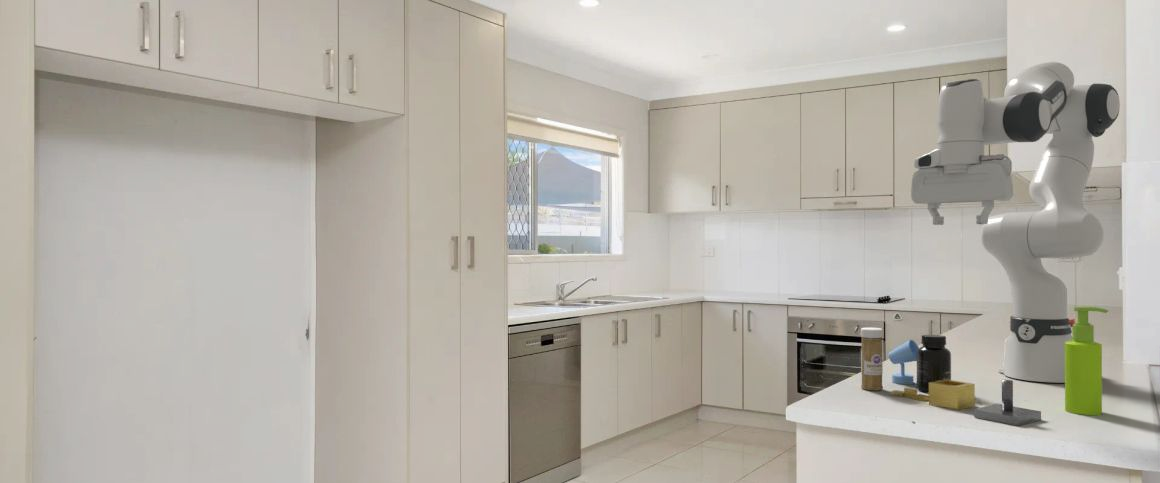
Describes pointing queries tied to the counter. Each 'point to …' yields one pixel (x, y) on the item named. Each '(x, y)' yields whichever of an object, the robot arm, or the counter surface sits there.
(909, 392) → the tan barbell toy
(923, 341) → the supplement bottle
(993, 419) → the grey peg stand
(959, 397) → the end link
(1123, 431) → the counter surface
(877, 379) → the sprinkles bottle
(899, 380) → the spotlight
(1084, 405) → the soap dispenser
